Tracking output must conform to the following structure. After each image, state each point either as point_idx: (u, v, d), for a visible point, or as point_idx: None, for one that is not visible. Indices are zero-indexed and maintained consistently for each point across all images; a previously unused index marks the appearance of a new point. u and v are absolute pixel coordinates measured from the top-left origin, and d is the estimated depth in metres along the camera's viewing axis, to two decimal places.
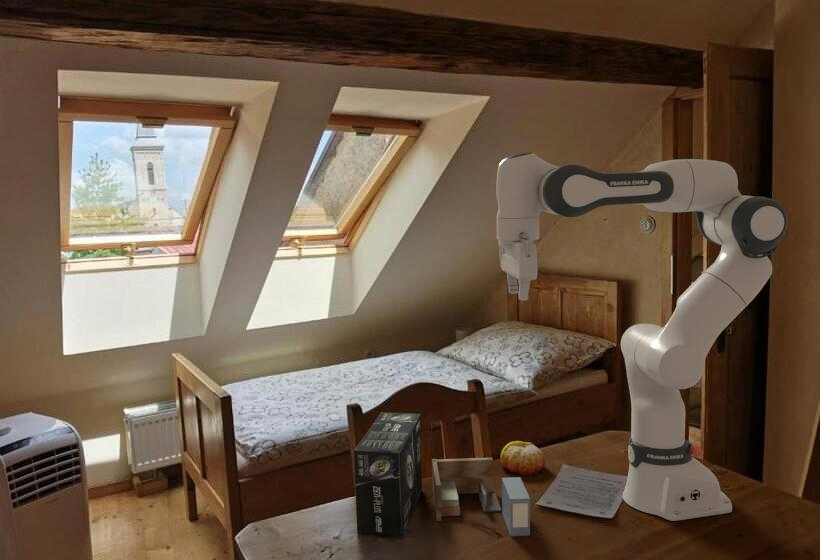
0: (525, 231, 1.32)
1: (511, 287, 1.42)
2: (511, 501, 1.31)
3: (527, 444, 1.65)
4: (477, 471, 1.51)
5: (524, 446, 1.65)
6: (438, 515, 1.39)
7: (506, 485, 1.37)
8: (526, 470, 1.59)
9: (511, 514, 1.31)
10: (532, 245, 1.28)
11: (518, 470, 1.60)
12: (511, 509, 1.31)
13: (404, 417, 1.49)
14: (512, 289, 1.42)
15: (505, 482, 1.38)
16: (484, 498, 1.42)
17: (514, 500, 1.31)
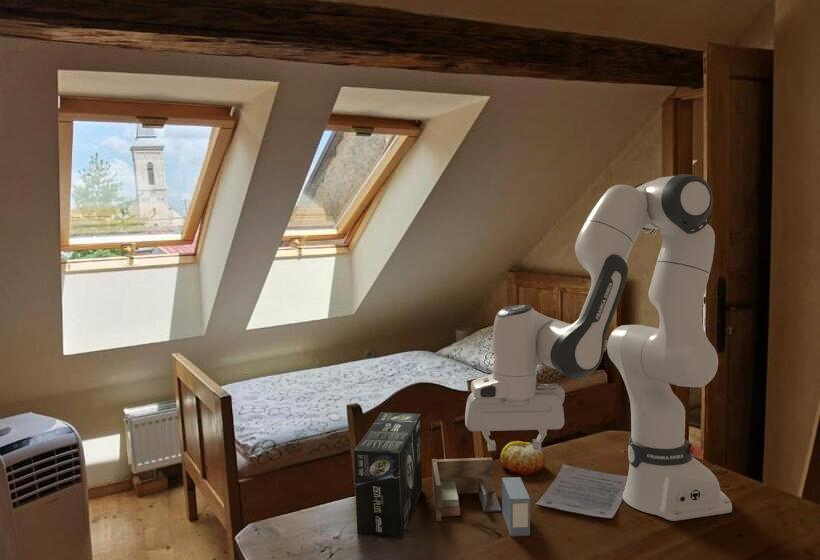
0: None
1: None
2: (511, 501, 1.31)
3: (527, 444, 1.65)
4: (477, 471, 1.51)
5: (524, 446, 1.65)
6: (438, 515, 1.39)
7: (506, 485, 1.37)
8: (526, 470, 1.59)
9: (511, 514, 1.31)
10: None
11: (518, 470, 1.60)
12: (511, 509, 1.31)
13: (404, 417, 1.49)
14: None
15: (505, 482, 1.38)
16: (484, 498, 1.42)
17: (514, 500, 1.31)
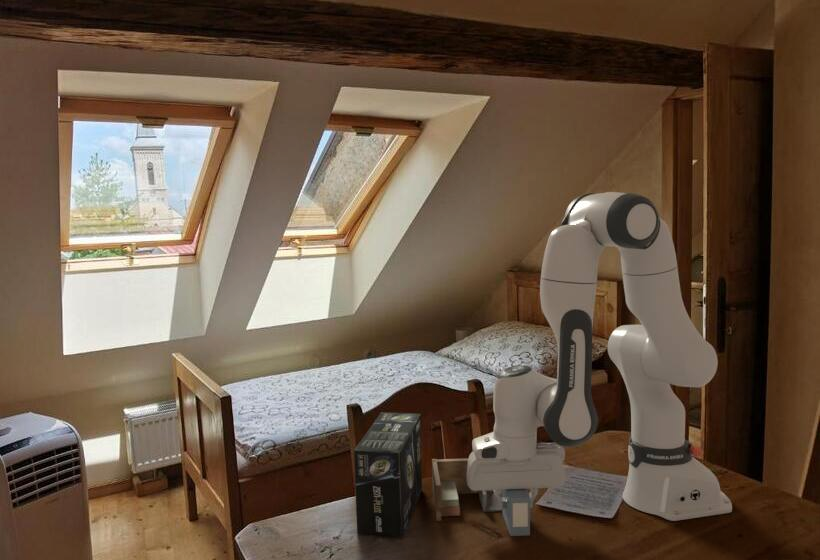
0: None
1: None
2: (511, 500, 1.31)
3: None
4: None
5: None
6: (438, 515, 1.39)
7: None
8: None
9: (511, 514, 1.31)
10: None
11: None
12: (511, 509, 1.31)
13: (404, 417, 1.49)
14: None
15: None
16: (484, 498, 1.42)
17: (514, 500, 1.31)
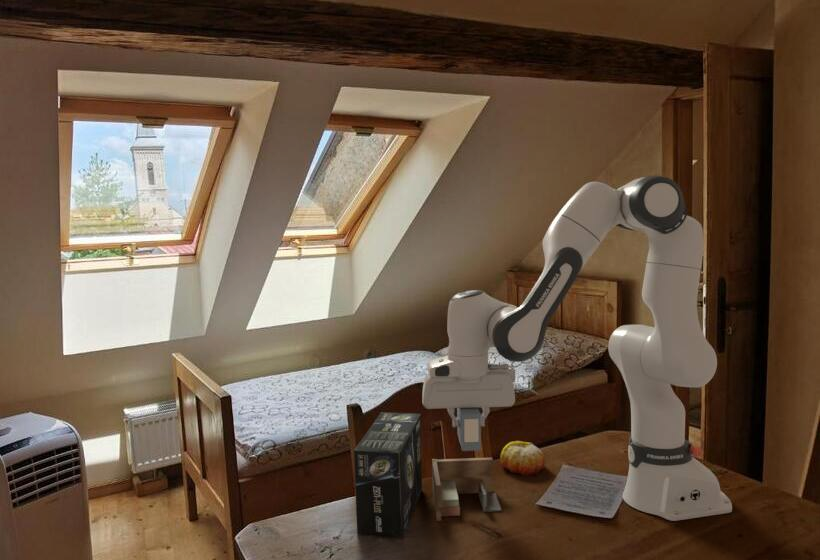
0: None
1: (459, 420, 1.42)
2: (462, 416, 1.37)
3: (527, 444, 1.65)
4: (477, 471, 1.51)
5: (524, 446, 1.65)
6: (438, 515, 1.39)
7: None
8: (526, 470, 1.59)
9: (463, 429, 1.38)
10: None
11: (518, 470, 1.60)
12: (463, 424, 1.38)
13: (404, 417, 1.49)
14: (459, 422, 1.43)
15: None
16: (484, 498, 1.42)
17: (465, 416, 1.37)
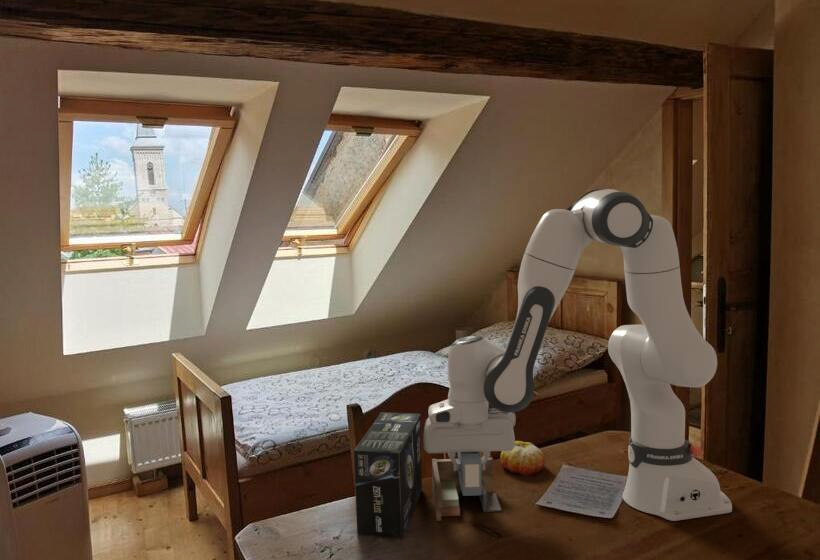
0: None
1: (460, 464, 1.44)
2: (463, 462, 1.39)
3: (527, 444, 1.65)
4: None
5: (524, 446, 1.65)
6: (438, 515, 1.39)
7: None
8: (526, 470, 1.59)
9: (463, 474, 1.39)
10: None
11: (518, 470, 1.60)
12: (463, 470, 1.39)
13: (404, 417, 1.49)
14: None
15: None
16: (484, 498, 1.42)
17: (466, 461, 1.39)
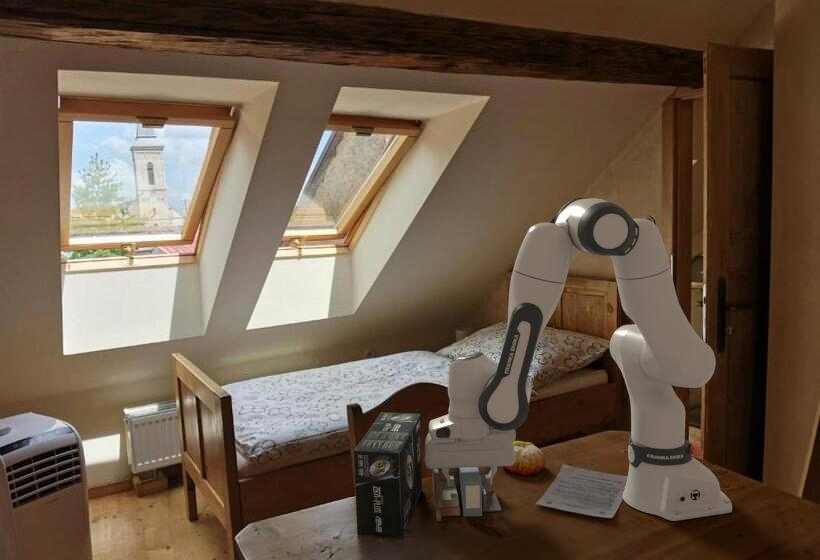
0: None
1: None
2: (464, 483, 1.39)
3: (527, 444, 1.65)
4: None
5: (524, 446, 1.65)
6: (438, 515, 1.39)
7: (461, 469, 1.46)
8: (526, 470, 1.59)
9: (464, 496, 1.40)
10: None
11: (518, 470, 1.60)
12: (464, 491, 1.40)
13: (404, 417, 1.49)
14: (453, 481, 1.44)
15: None
16: (484, 498, 1.42)
17: (467, 483, 1.39)
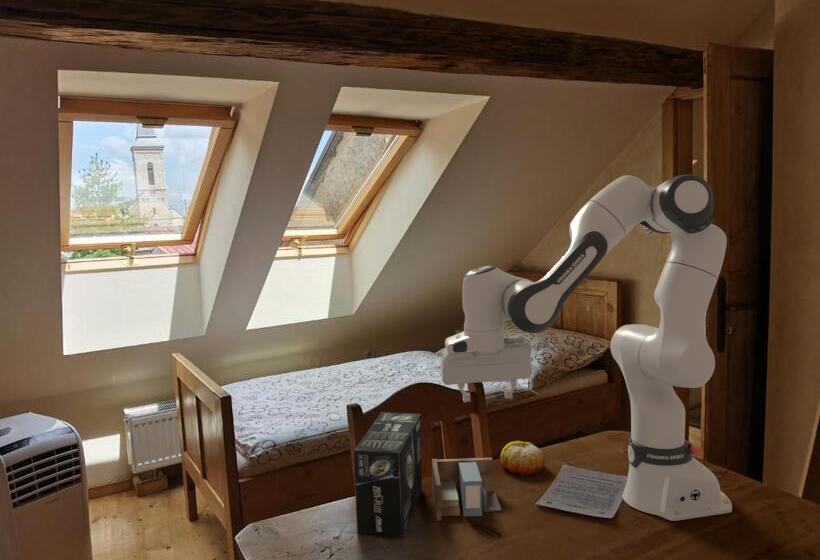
0: None
1: None
2: (464, 483, 1.39)
3: (527, 444, 1.65)
4: None
5: (524, 446, 1.65)
6: (438, 515, 1.39)
7: (461, 469, 1.46)
8: (526, 470, 1.59)
9: (464, 496, 1.40)
10: None
11: (518, 470, 1.60)
12: (464, 491, 1.40)
13: (404, 417, 1.49)
14: (469, 397, 1.45)
15: (461, 467, 1.47)
16: (484, 498, 1.42)
17: (467, 483, 1.39)
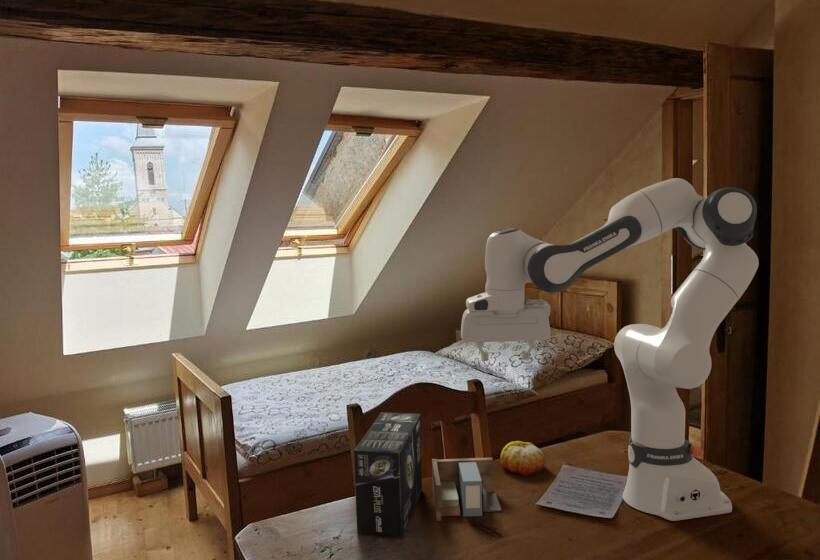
0: None
1: None
2: (464, 483, 1.39)
3: (527, 444, 1.65)
4: None
5: (524, 446, 1.65)
6: (438, 515, 1.39)
7: (461, 469, 1.46)
8: (526, 470, 1.59)
9: (464, 496, 1.40)
10: None
11: (518, 470, 1.60)
12: (464, 491, 1.40)
13: (404, 417, 1.49)
14: None
15: (461, 467, 1.47)
16: (484, 498, 1.42)
17: (467, 483, 1.39)
